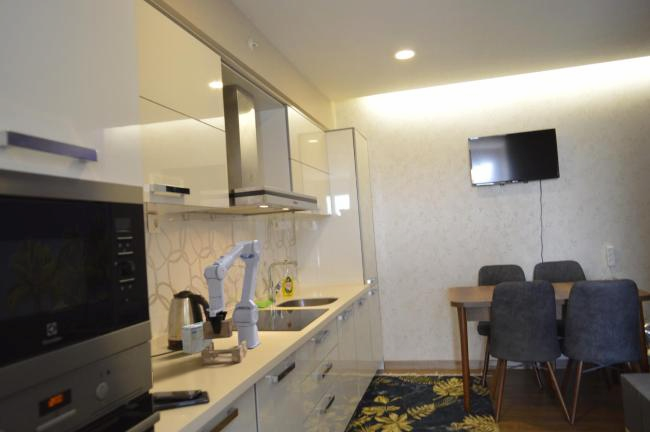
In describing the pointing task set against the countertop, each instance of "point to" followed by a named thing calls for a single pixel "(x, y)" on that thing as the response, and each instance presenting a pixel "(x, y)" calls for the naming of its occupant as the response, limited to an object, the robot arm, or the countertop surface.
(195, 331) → the light bulb box
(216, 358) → the wooden stool
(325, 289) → the countertop surface
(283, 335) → the countertop surface
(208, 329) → the brown wooden block
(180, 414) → the countertop surface
